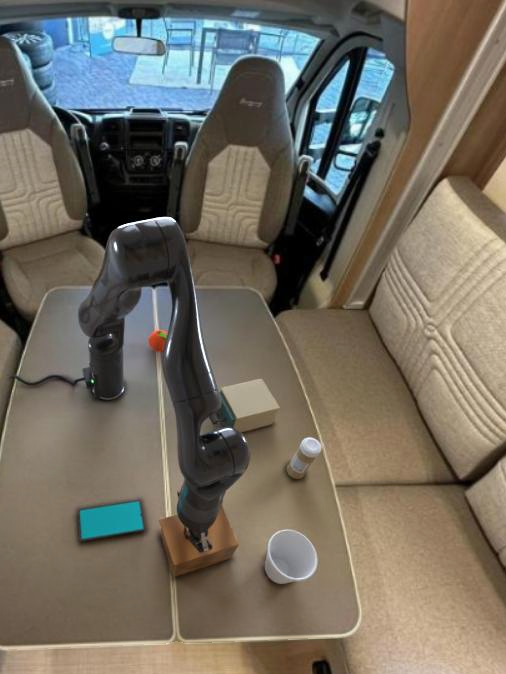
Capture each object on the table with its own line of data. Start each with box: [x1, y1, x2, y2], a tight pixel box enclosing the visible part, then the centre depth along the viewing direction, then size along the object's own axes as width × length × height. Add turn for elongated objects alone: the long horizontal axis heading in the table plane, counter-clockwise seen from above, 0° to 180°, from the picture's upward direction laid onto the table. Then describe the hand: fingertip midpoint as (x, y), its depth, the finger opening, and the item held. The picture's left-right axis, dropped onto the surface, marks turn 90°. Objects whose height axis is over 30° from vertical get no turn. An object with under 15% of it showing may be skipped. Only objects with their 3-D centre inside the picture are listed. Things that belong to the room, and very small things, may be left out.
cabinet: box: [219, 378, 281, 433], centre depth 116 cm, size 13×11×8 cm
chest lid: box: [158, 505, 240, 566], centre depth 87 cm, size 14×10×1 cm, turn 107°
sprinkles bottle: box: [286, 437, 323, 480], centre depth 102 cm, size 5×5×14 cm
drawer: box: [208, 391, 235, 428], centre depth 115 cm, size 16×9×6 cm, turn 107°
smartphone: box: [77, 499, 146, 543], centre depth 97 cm, size 7×1×15 cm
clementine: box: [148, 329, 168, 353], centre depth 132 cm, size 8×7×7 cm
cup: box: [264, 529, 319, 585], centre depth 88 cm, size 10×10×11 cm
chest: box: [159, 527, 239, 578], centre depth 91 cm, size 14×10×9 cm
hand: (189, 534), depth 87 cm, fingers closed
